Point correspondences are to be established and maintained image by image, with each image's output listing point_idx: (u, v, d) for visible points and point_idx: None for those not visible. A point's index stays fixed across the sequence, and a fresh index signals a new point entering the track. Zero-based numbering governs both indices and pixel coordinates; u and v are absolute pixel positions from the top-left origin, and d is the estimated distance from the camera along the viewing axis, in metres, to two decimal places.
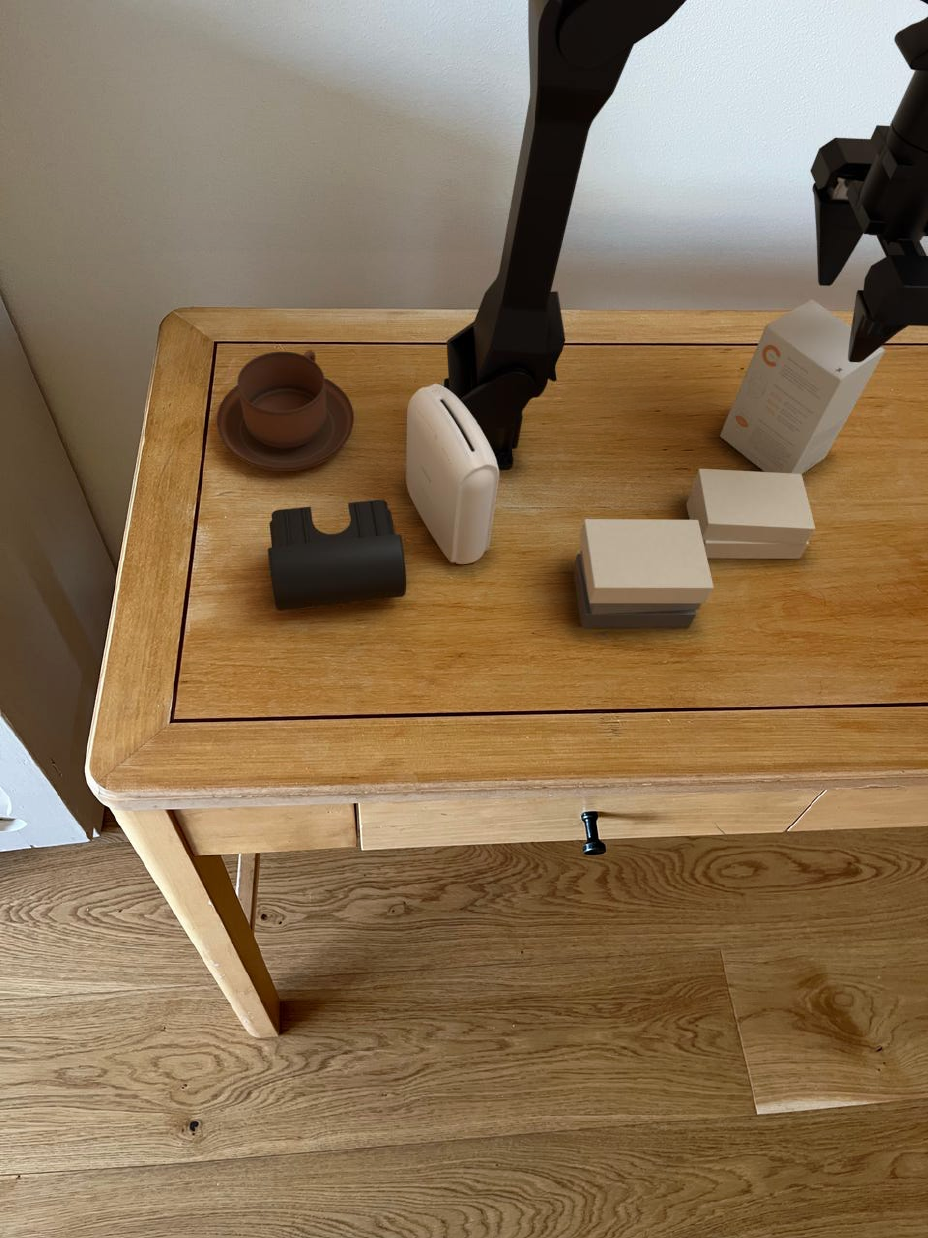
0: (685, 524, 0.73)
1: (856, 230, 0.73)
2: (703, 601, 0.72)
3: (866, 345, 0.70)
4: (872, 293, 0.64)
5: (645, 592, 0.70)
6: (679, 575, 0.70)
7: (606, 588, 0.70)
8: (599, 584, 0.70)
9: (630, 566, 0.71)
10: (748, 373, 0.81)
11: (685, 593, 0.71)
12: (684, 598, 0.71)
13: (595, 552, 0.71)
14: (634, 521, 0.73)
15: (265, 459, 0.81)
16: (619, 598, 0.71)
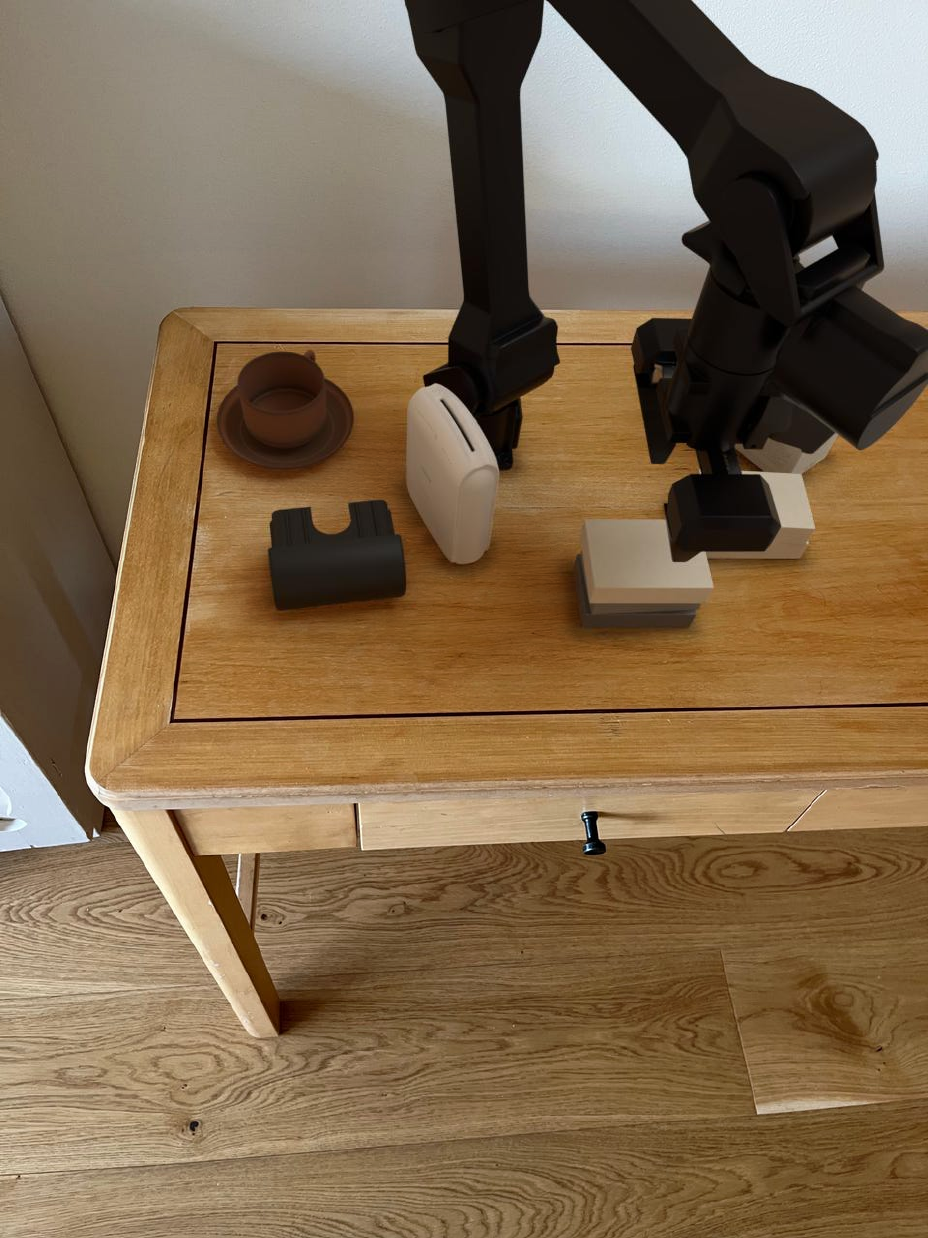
0: None
1: None
2: (703, 601, 0.72)
3: None
4: (673, 515, 0.57)
5: (645, 592, 0.70)
6: (679, 575, 0.70)
7: (606, 588, 0.70)
8: (599, 584, 0.70)
9: (630, 566, 0.71)
10: None
11: (685, 593, 0.71)
12: (684, 598, 0.71)
13: (595, 552, 0.71)
14: (634, 521, 0.73)
15: (265, 459, 0.81)
16: (619, 598, 0.71)
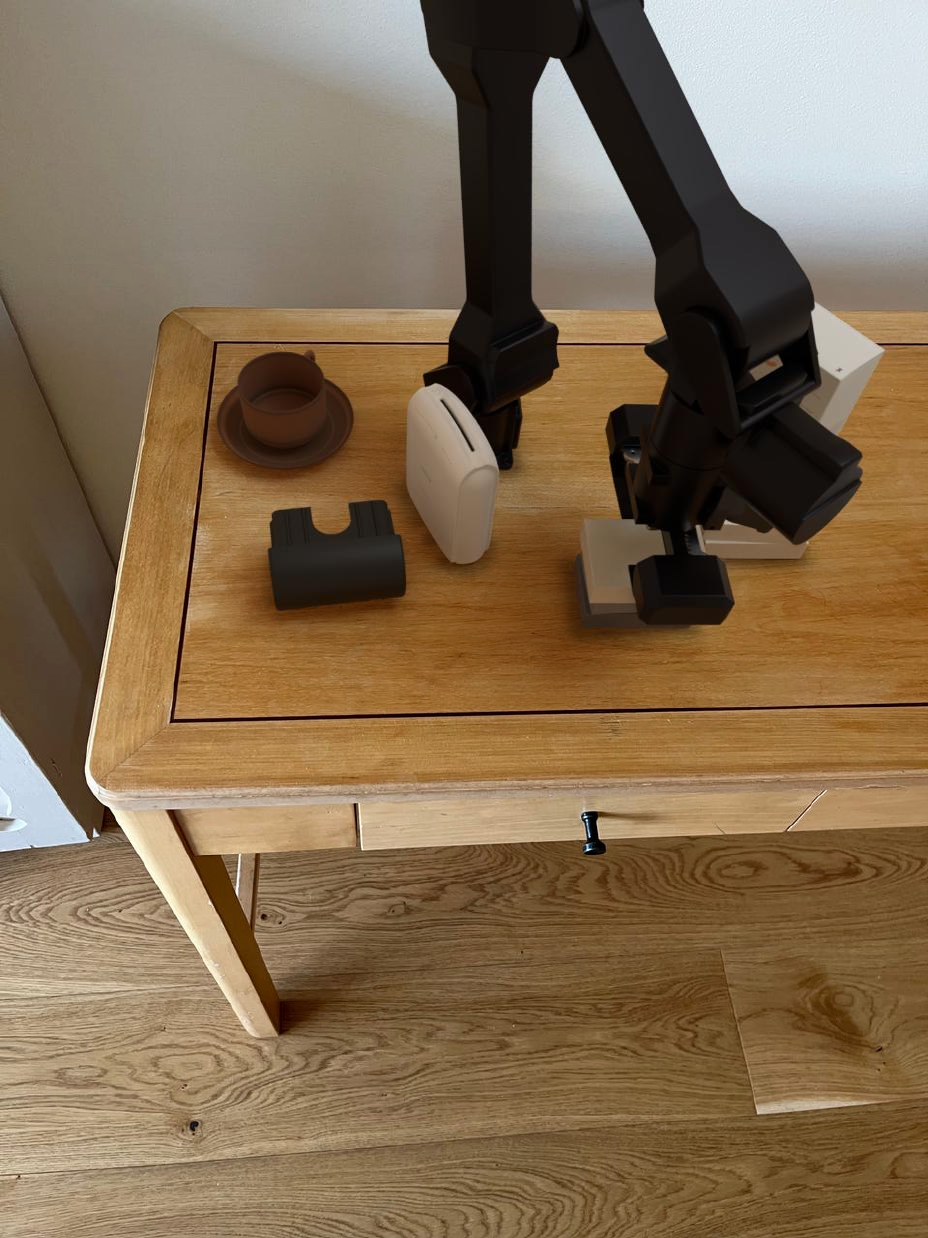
0: None
1: None
2: None
3: None
4: (637, 591, 0.63)
5: None
6: None
7: (606, 588, 0.70)
8: (600, 584, 0.70)
9: None
10: None
11: None
12: None
13: (595, 552, 0.71)
14: (634, 521, 0.73)
15: (265, 459, 0.81)
16: (619, 598, 0.71)
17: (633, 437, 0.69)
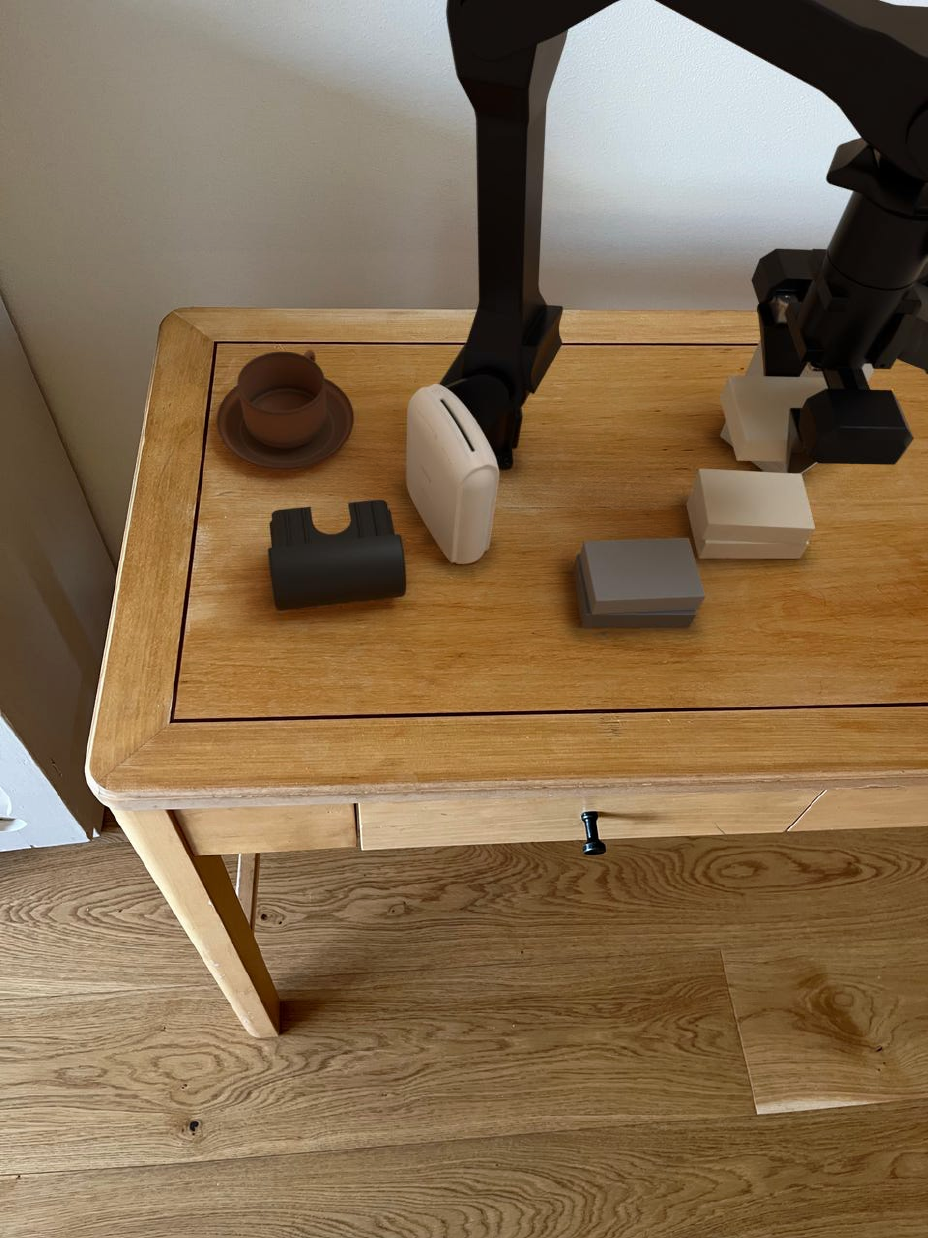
0: None
1: None
2: None
3: (803, 459, 0.66)
4: (807, 428, 0.60)
5: None
6: None
7: (758, 441, 0.66)
8: (751, 437, 0.66)
9: (781, 420, 0.67)
10: (748, 373, 0.81)
11: None
12: None
13: (743, 407, 0.68)
14: (780, 378, 0.70)
15: (265, 459, 0.81)
16: (769, 454, 0.67)
17: (789, 280, 0.65)
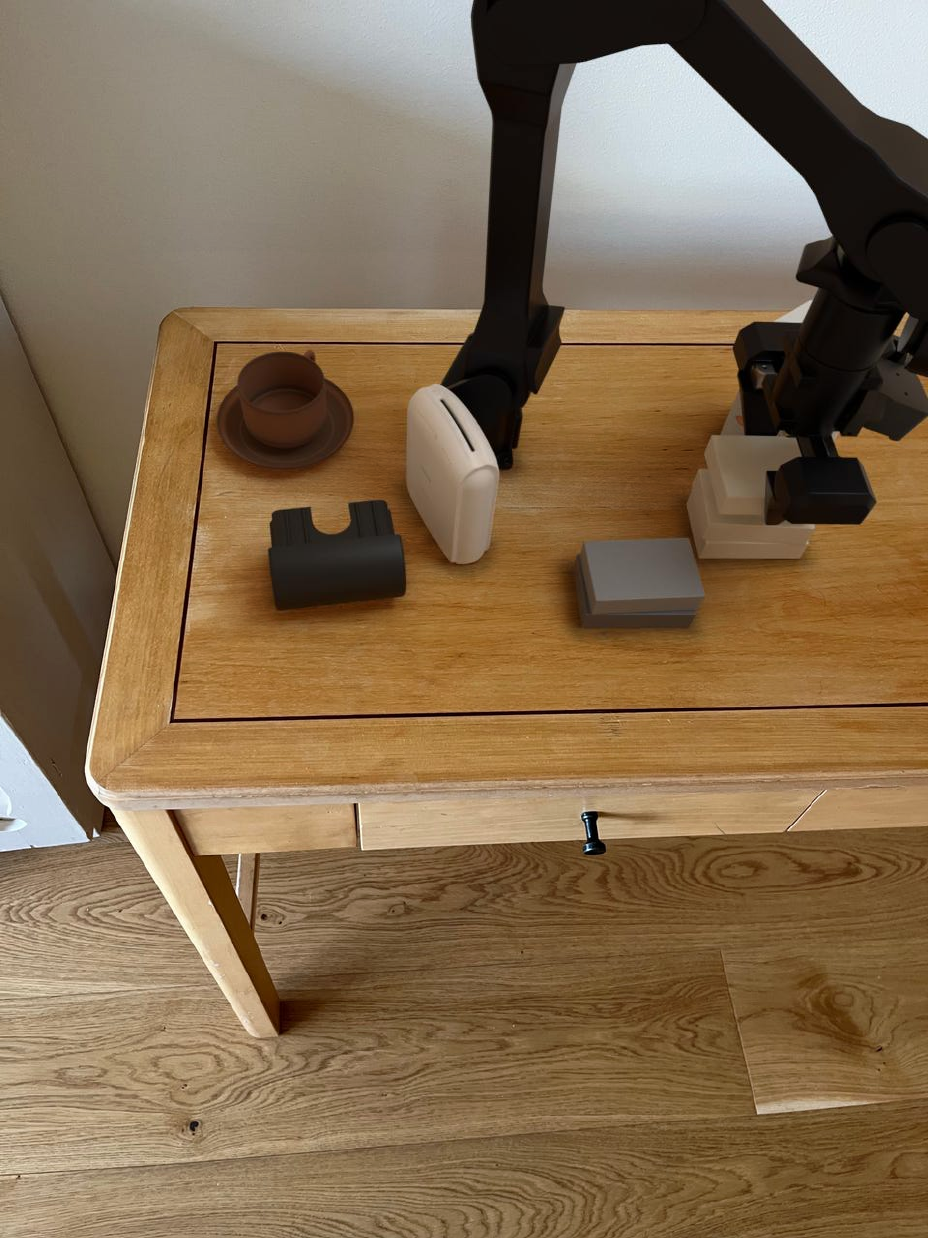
0: None
1: None
2: None
3: (779, 514, 0.73)
4: (781, 492, 0.66)
5: None
6: None
7: (738, 497, 0.72)
8: (732, 494, 0.72)
9: (759, 478, 0.73)
10: None
11: None
12: None
13: (725, 465, 0.74)
14: (759, 437, 0.76)
15: (265, 459, 0.81)
16: (748, 509, 0.74)
17: (766, 351, 0.71)
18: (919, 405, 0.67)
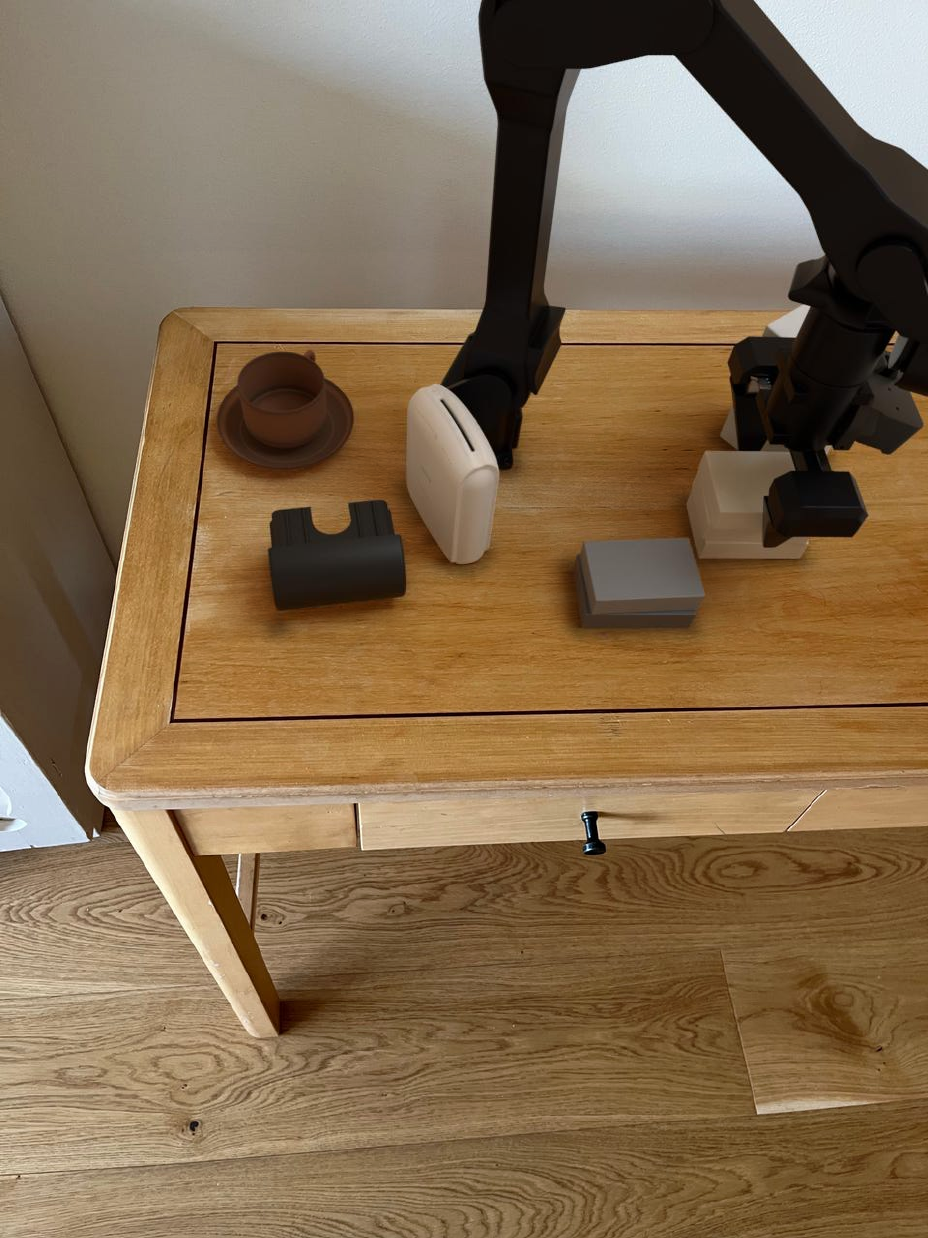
0: None
1: None
2: None
3: (777, 537, 0.73)
4: (775, 505, 0.67)
5: None
6: None
7: (731, 512, 0.74)
8: (725, 509, 0.74)
9: (751, 493, 0.75)
10: None
11: None
12: None
13: (718, 481, 0.76)
14: (751, 453, 0.77)
15: (265, 459, 0.81)
16: (741, 523, 0.75)
17: (760, 366, 0.73)
18: (910, 420, 0.68)
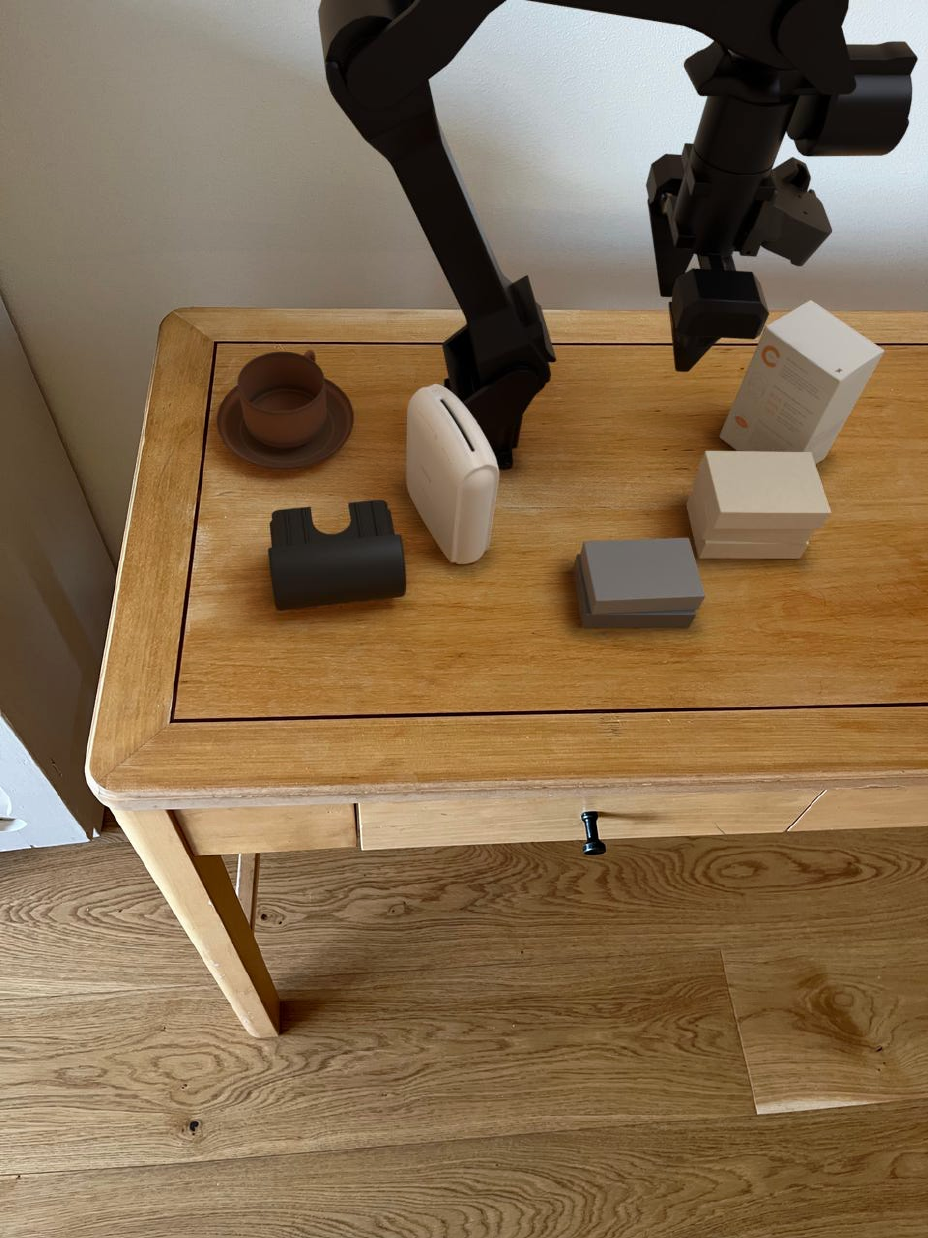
0: (799, 456, 0.78)
1: None
2: (819, 527, 0.76)
3: (687, 355, 0.72)
4: (676, 305, 0.66)
5: (766, 517, 0.75)
6: (798, 501, 0.75)
7: (731, 512, 0.74)
8: (725, 509, 0.74)
9: (751, 493, 0.75)
10: (747, 374, 0.81)
11: (804, 518, 0.75)
12: (802, 523, 0.76)
13: (718, 481, 0.76)
14: (751, 453, 0.77)
15: (265, 459, 0.81)
16: (741, 523, 0.75)
17: (674, 180, 0.72)
18: (818, 224, 0.67)
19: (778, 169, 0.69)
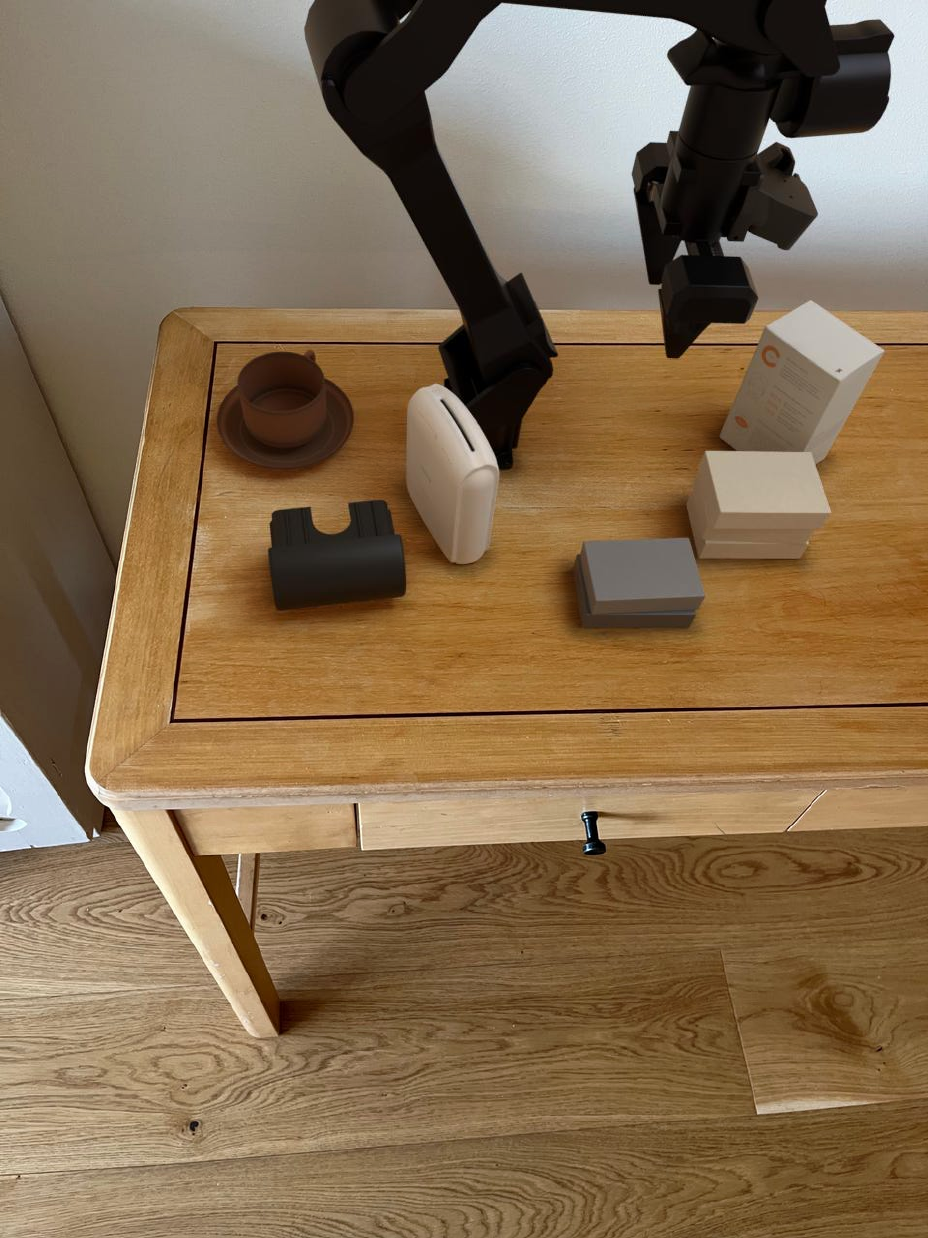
0: (799, 456, 0.78)
1: None
2: (819, 527, 0.76)
3: (678, 342, 0.73)
4: (666, 291, 0.67)
5: (766, 517, 0.75)
6: (798, 501, 0.75)
7: (731, 512, 0.74)
8: (725, 509, 0.74)
9: (751, 493, 0.75)
10: (747, 374, 0.81)
11: (804, 518, 0.75)
12: (802, 523, 0.76)
13: (718, 481, 0.76)
14: (751, 453, 0.77)
15: (265, 459, 0.81)
16: (741, 523, 0.75)
17: (659, 167, 0.72)
18: (803, 208, 0.67)
19: (762, 154, 0.70)
